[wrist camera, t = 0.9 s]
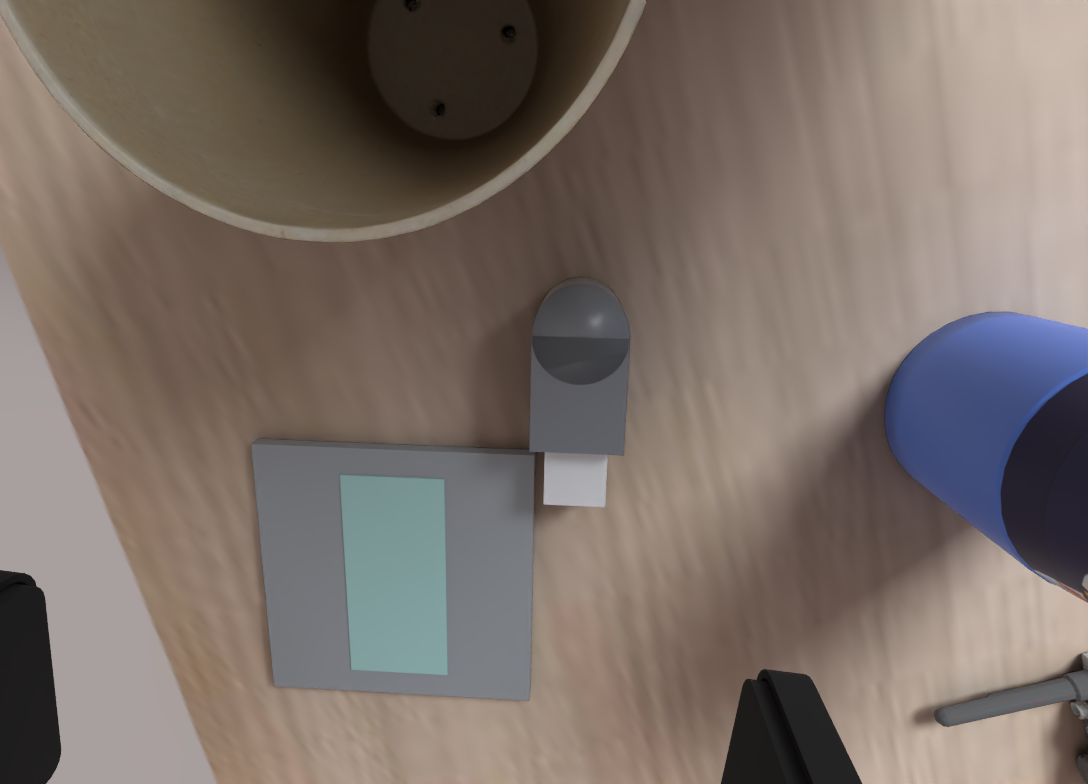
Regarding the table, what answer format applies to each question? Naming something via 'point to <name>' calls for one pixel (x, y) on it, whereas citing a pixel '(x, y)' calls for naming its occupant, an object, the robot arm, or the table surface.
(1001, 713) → the walkie-talkie
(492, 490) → the dock pad
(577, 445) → the usb plug
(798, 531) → the table surface
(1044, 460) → the water bottle
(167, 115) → the plant pot
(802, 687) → the robot arm
